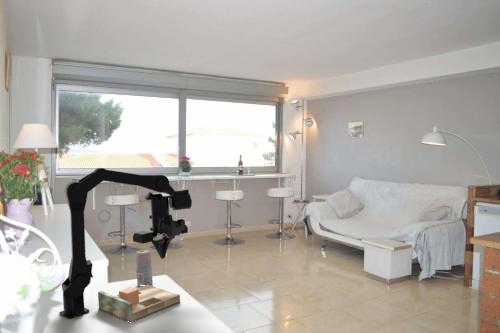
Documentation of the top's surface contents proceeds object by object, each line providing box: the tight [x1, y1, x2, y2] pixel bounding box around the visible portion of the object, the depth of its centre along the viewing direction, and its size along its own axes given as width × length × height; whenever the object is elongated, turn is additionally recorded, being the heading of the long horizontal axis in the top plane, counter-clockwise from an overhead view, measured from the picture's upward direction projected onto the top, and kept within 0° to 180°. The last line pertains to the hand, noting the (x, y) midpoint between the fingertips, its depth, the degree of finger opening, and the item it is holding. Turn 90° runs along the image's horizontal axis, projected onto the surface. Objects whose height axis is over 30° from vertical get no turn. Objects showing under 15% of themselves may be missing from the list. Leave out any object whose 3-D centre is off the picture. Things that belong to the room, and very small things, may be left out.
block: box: [118, 286, 139, 305], centre depth 119 cm, size 4×4×4 cm
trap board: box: [97, 284, 181, 323], centre depth 123 cm, size 17×18×5 cm
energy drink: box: [135, 249, 153, 286], centre depth 143 cm, size 5×5×12 cm
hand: (162, 258), depth 132 cm, fingers closed
